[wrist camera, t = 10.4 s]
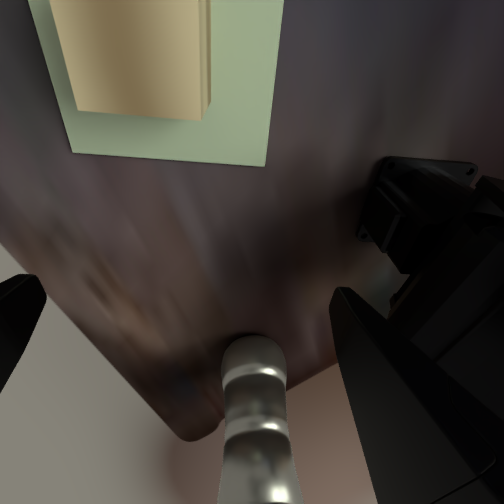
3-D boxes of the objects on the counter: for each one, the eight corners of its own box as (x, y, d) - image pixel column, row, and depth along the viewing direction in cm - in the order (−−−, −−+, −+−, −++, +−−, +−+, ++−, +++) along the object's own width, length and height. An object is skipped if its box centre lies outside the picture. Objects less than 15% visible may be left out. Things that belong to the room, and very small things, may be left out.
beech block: (211, -20, 13) (197, -50, 9) (211, 101, 16) (200, 120, 12) (98, -34, 12) (30, -72, 8) (120, 93, 15) (77, 110, 11)
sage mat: (297, -126, 11) (298, -131, 11) (264, 164, 18) (264, 166, 18) (-18, -176, 10) (-26, -182, 10) (75, 150, 18) (72, 152, 17)
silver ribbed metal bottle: (210, 339, 30) (174, 689, 14) (267, 318, 28) (303, 691, 12) (240, 368, 33) (239, 673, 17) (292, 351, 31) (346, 673, 15)
